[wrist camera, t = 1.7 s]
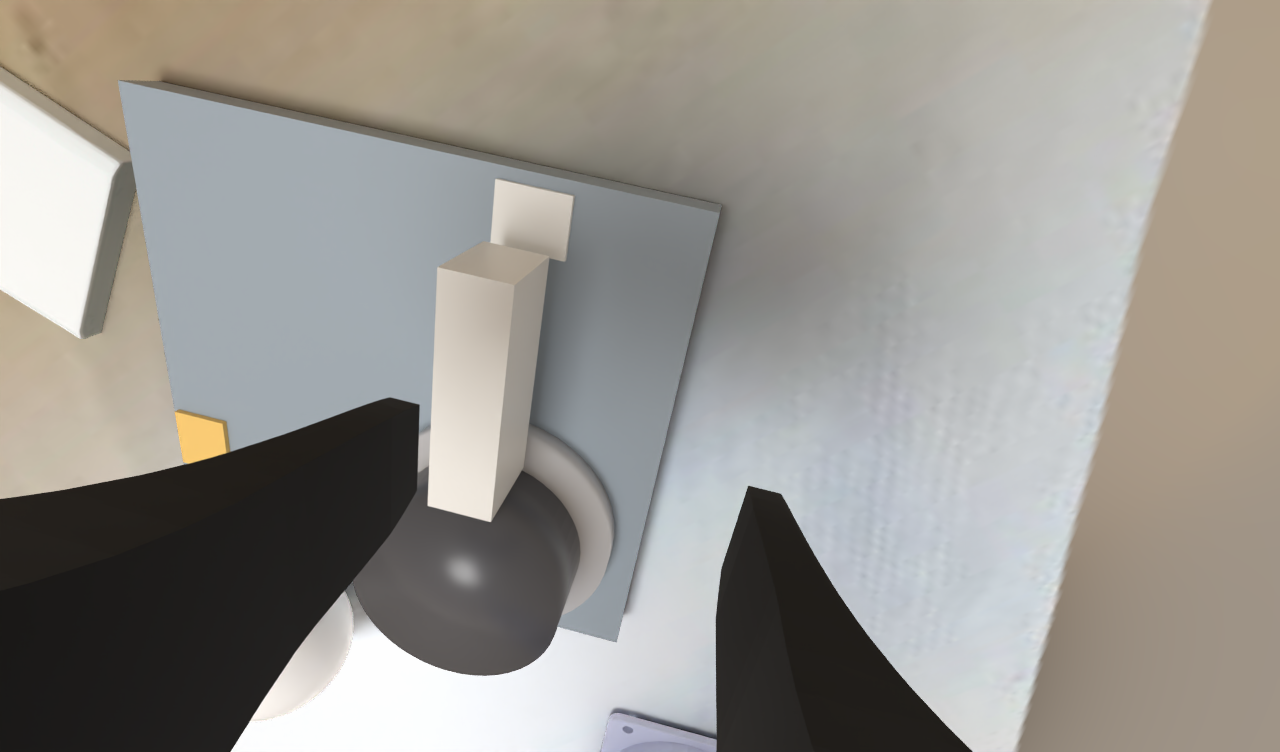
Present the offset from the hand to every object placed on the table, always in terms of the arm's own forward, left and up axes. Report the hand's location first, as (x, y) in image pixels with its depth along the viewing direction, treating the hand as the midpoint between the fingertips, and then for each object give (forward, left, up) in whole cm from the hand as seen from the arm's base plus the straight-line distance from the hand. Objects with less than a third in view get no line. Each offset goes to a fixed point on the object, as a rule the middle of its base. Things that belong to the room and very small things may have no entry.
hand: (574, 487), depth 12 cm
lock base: (+8, +5, -10) cm, 14 cm away
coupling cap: (+4, +5, -8) cm, 10 cm away
